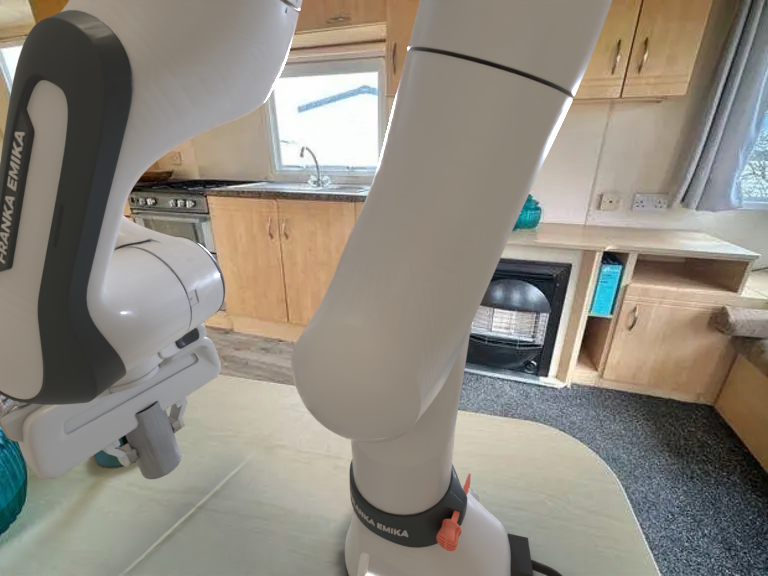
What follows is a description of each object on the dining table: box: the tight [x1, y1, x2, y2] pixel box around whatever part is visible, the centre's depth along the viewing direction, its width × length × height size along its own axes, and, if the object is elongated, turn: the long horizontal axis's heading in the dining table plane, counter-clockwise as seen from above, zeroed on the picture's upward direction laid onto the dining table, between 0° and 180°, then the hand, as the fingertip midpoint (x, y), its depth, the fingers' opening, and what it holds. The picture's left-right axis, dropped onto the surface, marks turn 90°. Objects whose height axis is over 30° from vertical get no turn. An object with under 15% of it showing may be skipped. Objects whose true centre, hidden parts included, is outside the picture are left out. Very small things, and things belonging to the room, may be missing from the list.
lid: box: [93, 435, 136, 469], centre depth 59 cm, size 10×10×6 cm
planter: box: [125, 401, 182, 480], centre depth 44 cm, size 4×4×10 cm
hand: (154, 443), depth 44 cm, fingers closed on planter, 4 cm apart
